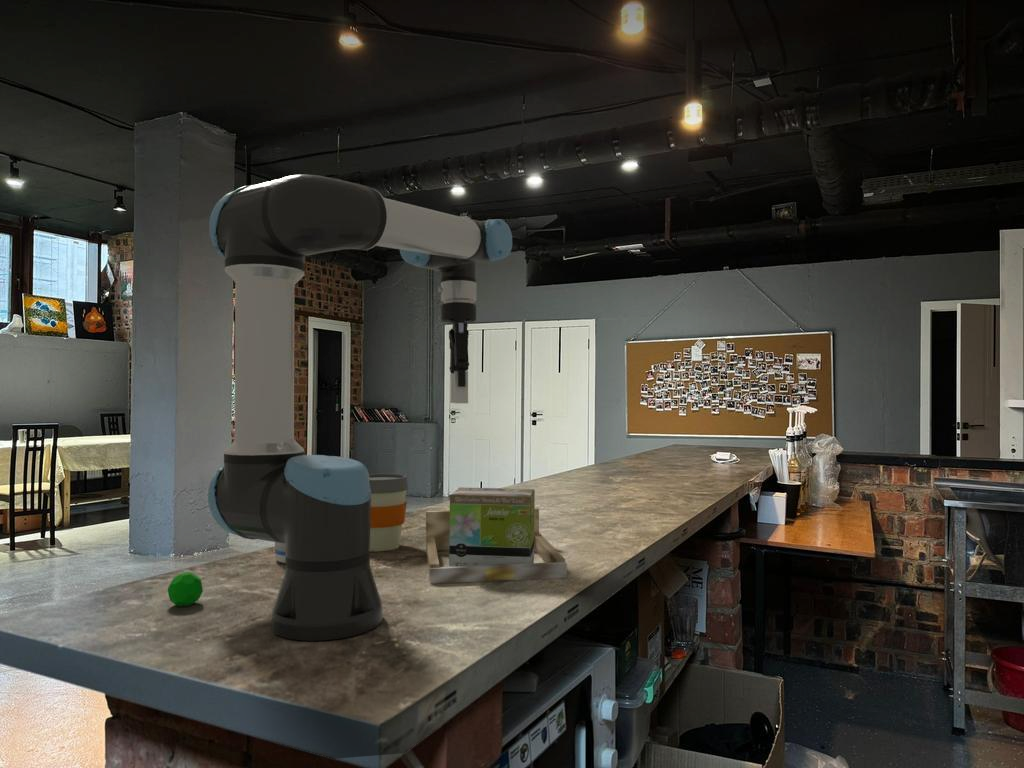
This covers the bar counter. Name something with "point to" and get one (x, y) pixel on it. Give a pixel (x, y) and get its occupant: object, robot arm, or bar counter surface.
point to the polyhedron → (185, 589)
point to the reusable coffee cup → (387, 510)
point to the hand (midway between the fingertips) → (458, 403)
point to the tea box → (491, 526)
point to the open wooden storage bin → (440, 541)
